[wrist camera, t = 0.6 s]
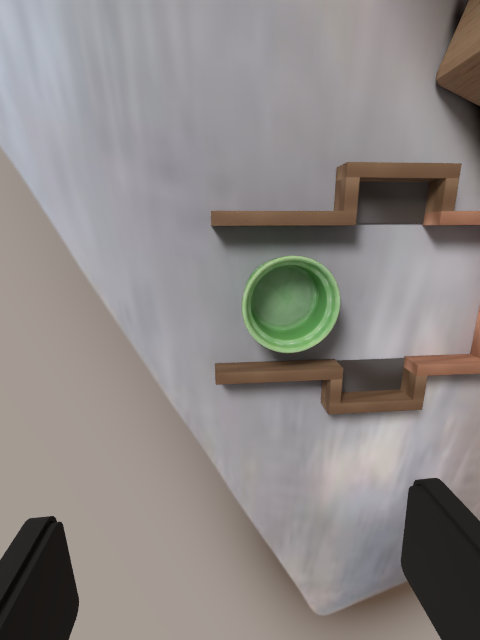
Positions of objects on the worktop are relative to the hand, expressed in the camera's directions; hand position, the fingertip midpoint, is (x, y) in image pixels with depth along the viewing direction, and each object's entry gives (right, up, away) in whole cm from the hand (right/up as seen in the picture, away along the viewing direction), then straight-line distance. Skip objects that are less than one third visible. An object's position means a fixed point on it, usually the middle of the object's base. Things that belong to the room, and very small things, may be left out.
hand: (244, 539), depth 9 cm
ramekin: (+4, +8, +25) cm, 26 cm away
